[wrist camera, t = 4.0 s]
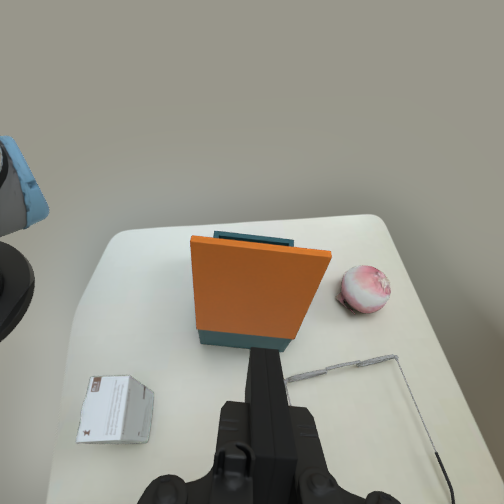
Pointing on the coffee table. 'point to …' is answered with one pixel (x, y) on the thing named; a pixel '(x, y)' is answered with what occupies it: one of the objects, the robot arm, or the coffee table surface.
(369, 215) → the coffee table surface
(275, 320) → the lid
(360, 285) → the onion
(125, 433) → the cosmetic box
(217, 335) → the box
